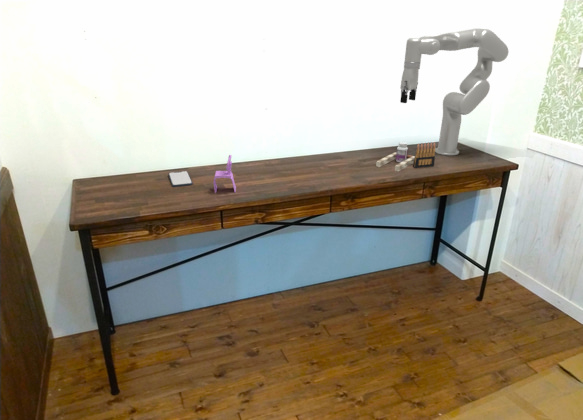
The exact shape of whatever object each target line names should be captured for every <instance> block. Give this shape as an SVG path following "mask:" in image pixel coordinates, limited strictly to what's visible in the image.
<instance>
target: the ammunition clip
mask: <svg viewBox="0 0 583 420" xmlns="http://www.w3.org/2000/svg"><path fill="white" fill-rule="evenodd" d="M435 148H436V142H435V141H434V142H432V141H431V143H429V142H427V144H426V142H424V143H421V144H420V143H418V144H417V146H416V150H415V155H414V156H415V158H414V163H413V164H412V167H413V168H414V169H418V168H419V169H420V168H429V167H434V166H435V162H436V161H435V159H436V158H435V157H436V152H435Z"/></svg>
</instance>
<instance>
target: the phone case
mask: <svg viewBox="0 0 583 420" xmlns="http://www.w3.org/2000/svg"><path fill="white" fill-rule="evenodd" d="M168 179H169V181H170V184H171V187H173V188H181V187H188V186H192V185H194V184H193V180H192V179H191V176H190V174H189V171H186V170H185V171H184V170H183V171H173V172H169V173H168Z"/></svg>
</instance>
